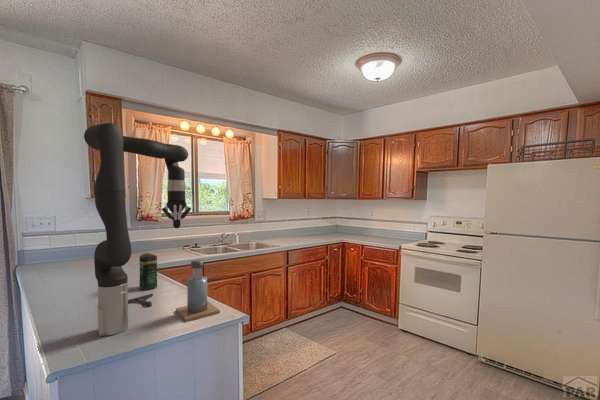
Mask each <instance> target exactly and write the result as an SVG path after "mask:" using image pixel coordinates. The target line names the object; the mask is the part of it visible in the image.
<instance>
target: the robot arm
mask: <svg viewBox="0 0 600 400" xmlns="http://www.w3.org/2000/svg"><path fill="white" fill-rule="evenodd" d="M83 138H84V141H85V143H86V145H87V146H88V147H90V148H91V149H94V150H96V151H99V154H100V155H99V156H100V165H99V170H98V173H97V176H96V179H95V182H94V185H93V191H94V203H95V208H96V211H97V214H98V215H99V217H100V219H101V221H102V224H103V225H104V228H105V234H106V239H105V240H103V241H101V242H99V243H98V244H97V245H96V247H95V249H94V255H93V261H94V275H95V276H94V277H95V279H96V280H97V306H96V307H97V309H96V310H97V333H98V337H104V336H113V335H117V334H119V333H122V332H124V331H126V330H127V329H128V328H129V304H128V300H129V299H128V298H129V297H128V296H129V295H128V294H129V290H128V287H129V285H128V284H129V283H128V274H127V273H126V272H125V271H124V269H123V266H125V265H126V264H128V263H129V260H130V259H131V256H132V244H131V239H130V235H129V229H128V220H127V209H126V190H125V182H124V181H125V180H124V166H123V164H124V163H123V162H124V161H123V160H124V158H123V157H124V153H130V154H135V155H140V156H145V157H150V158H154V159H158V160H162V159H163V160H164V162H165V165H166V169H167V185H166V187H167V188H166V190H167V201H166V204H165V206H164V207H162V208H161V211H162V212H163V213H164V215H166V217H167V218H168V219H170V220H172V227H173V228H174V229H179V228H180V227H181V220H182V219H185V218H186V216H187V215H188V214H189V212H191V210H192V208H191V207H189V206H188V205H187V202H186V182H185V181H186V178H185V175H186V174H185V169H184V168H183V167H180V165H179V163H180V162H184V161H186V160H187V159H188V157H189V151H188V149H186V147H184V146H181V145H179V144H171V143H164V142H162V141H157V140H153V139H148V138H139V137H132V136H127V135H123V132H122V130H121V128H120V127H118V126H117V125H116V124H114V123H112V122H105V123H99V124H95V125H92V126H89V127H88V128H87V129H85V131H84V133H83Z"/></svg>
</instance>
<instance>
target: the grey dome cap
mask: <svg viewBox="0 0 600 400" xmlns="http://www.w3.org/2000/svg"><path fill="white" fill-rule="evenodd" d="M204 267H205V265H204V260H203V259H202V260H201V259H195V260H191V261H190V268H191V269H193V268H202V269H203V268H204Z"/></svg>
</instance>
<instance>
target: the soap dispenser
mask: <svg viewBox="0 0 600 400" xmlns="http://www.w3.org/2000/svg"><path fill="white" fill-rule="evenodd" d="M186 283H187V285H186V288H187V290H186V291H187V292H186V293H187V297H186V298H187V300H186V301H187V302H186V303H187V305H184V306H179V307H175V312H176V313H177V314H178V316H180V318H181V319H183V321H184V322H185V323H188V322H191V321H195V320H200V319H203V318H205V317H206V318H207V317H210V316H213V315H214V316H215V315H218V314H220V313H221V310H220V309H219V308H217V307H216V306H215V305H214V304H212V303H211V302H210V301H208V277H207V276H203V267H202V268H192V277H188V278H187V280H186Z"/></svg>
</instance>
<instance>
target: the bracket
mask: <svg viewBox="0 0 600 400" xmlns="http://www.w3.org/2000/svg"><path fill="white" fill-rule="evenodd" d="M153 296H154V295H153V293H149V294H146V295H141V296H138V297H133V298H131V299H128V305H129V304H140V305H143V306H146V307H148V308H150V307H152V305H153V304H152V301H151V300H150V301H147V300H148V299H150V298H153Z"/></svg>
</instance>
